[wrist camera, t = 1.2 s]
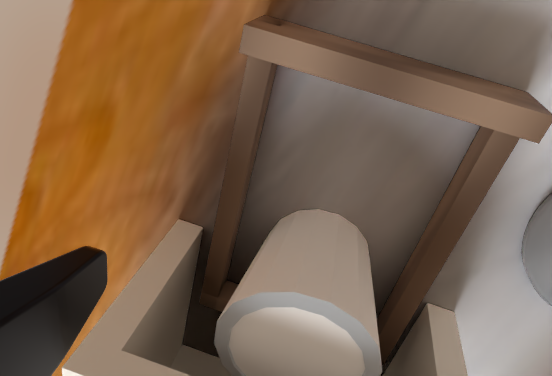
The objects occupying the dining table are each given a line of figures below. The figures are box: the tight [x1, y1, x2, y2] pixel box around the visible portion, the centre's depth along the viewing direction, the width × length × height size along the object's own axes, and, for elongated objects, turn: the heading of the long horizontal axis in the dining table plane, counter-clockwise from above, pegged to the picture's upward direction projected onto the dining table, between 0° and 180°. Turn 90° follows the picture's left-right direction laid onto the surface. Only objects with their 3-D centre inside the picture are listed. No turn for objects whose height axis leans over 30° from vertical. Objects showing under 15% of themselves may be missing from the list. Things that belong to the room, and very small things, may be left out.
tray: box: [199, 15, 552, 366], centre depth 19 cm, size 11×16×3 cm
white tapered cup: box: [214, 209, 382, 376], centre depth 19 cm, size 7×7×7 cm
